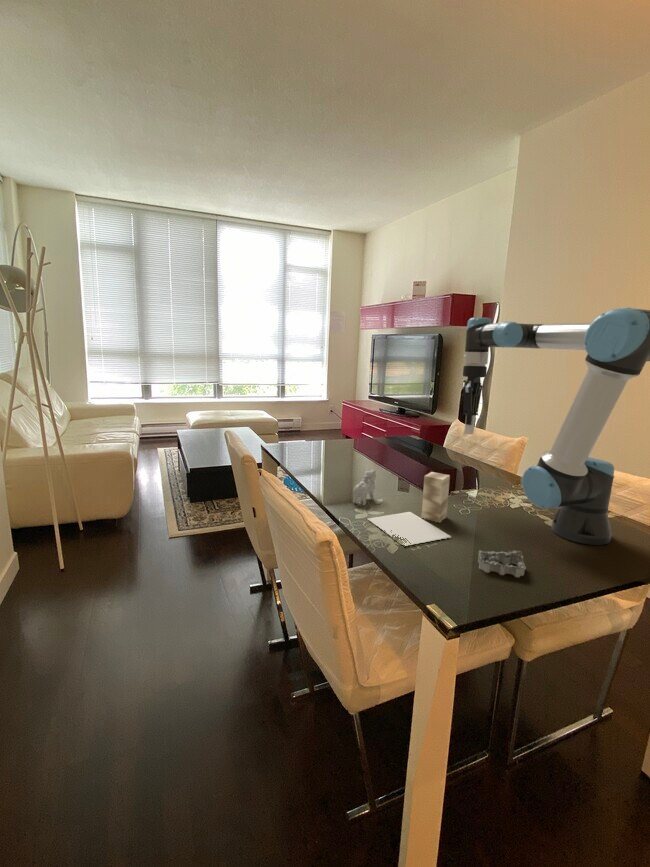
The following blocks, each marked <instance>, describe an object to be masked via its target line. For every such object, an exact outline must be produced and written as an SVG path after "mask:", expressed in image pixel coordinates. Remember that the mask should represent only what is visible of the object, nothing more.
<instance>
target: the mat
mask: <svg viewBox="0 0 650 867" xmlns="http://www.w3.org/2000/svg"><path fill="white" fill-rule="evenodd" d="M367 519H368V520H369V521H371V522H372V523H373V524H375V525H376V526H378V527H379V528H380V529H382V530H383V531H384V530H385V531H386V533H387V534H389V535H390V536H391V537H392V535H393V534H394V535H395V534H396V535H395V536H396V537H397V536H398V535H399V536H398V537H399V538H400V537H401V539H403V538H404V539H405V538H406V539H407V540H408V541H409V542H410V543H411V544H410V543H409V542H408V541H407V540H406V539H405V540H406V541H407V543H405V542H404V541H403V540H402V541H403V542H404V543H405V544H404V543H403V544H404V545H405V546H408V545H413V544H419V543H425V542H430V541H435V540H440V541H442V540H441V539H445V540H448V539H447V538H449V539H452V535H449V534H448V533H446V532H445V531H443V530H441V529H440V528H438V527H437V526H435V525H433V524H432V523H430V522H428V521H427V520H426V519H422V518H421V517H420V516H418V515H416V514H414V513H413V512H411V511H406V512H401V513H399V512H398V513H394V514H387V515H382V516H376V517H375V516H374V517H371V518H370V517H369V518H367ZM368 520H367V521H368ZM369 521H368V522H369ZM372 523H371V524H372ZM373 524H372V525H373ZM375 525H374V526H375ZM376 526H375V527H376ZM379 528H378V529H379ZM380 529H379V530H380ZM391 530H392V531H391ZM383 531H382V532H383ZM390 531H391V532H392V533H391V532H390ZM387 534H386V535H387ZM395 536H394V537H395ZM391 537H390V538H391ZM402 537H403V538H402ZM399 540H400V539H399ZM435 542H436V541H435ZM430 543H431V542H430ZM403 544H402V545H403ZM425 544H426V543H425Z"/></svg>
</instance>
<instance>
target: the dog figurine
mask: <svg viewBox="0 0 650 867" xmlns="http://www.w3.org/2000/svg"><path fill="white" fill-rule="evenodd" d="M376 478H377V473H376V470H375V469H372V470H370V468H366V469H365V472H364V473H363V478H362V480H361V481H359V482H358V484H355V486H354V488H353V495H352V499H353V501H352V503H353V502H356V503H357V498H359V499H360V500H362V504H364V505H365V504H366V505H367V495H369V498H370V500H371V499H374V500H375V498H374V497H375V496H374V492H375V489H376V484H375V480H376ZM364 505H363V506H364Z"/></svg>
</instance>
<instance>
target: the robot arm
mask: <svg viewBox="0 0 650 867" xmlns="http://www.w3.org/2000/svg"><path fill="white" fill-rule="evenodd" d="M464 348H465V349H464V354H463V355H462V356H463V363H464V366H463V367H462V368H463V370H462V376H463V377H464V378H466V377H467V379H466V383H465V385H464V386H462V387H463V388H462V390H463V413H462V415H463V416H464V415H465V421H464V422H465V423H464V432H463V433H464V434H465V435H474V433H475V432H474V431H475V421H476V416H479V413H478V412H479V406H480V402H481V396H482V390H483V385H482V382H481V378H486V377H487V369H488V368H487V366H486V365H488V361H489V352H490V350H489V348H503V349H505V348H513V349H514V348H516V349H517V348H518V349H520V348H523V349H547V350H548V349H549V350H550V349H552V350H573V351H574V350H575V351H576V350H577V351H579V350H581V351H585V352H586V353H587V355H586V357H585V359H584V361H585V364H586V366H587V367H588V369H587V371H586V373H585V375H584V377H583V379H582V381H581V384H580V386H579V388H578V390H577V393H576V395H575V397H574V398H573V401H572V404H571V406H570V408H569V410H568V412H567V414H566V416H565V419H564V421H563V423H562V425H561V427H560V429H559V432H558V434H557V435H556V438H555V440H554V442H553V444H552V447H551V449H550V450H545V451H544V452H542V454H541V456H540V457H539V460H538V462H537V463H536V464H537V465H533V466H530V467H528V468H526V469H525V471H524V472H523V474H522V477H521V485H522V489H523V491H524V495H525V496H526V498H527V500H529V502H531V504H532V505H534V506H536V507H538V508H540V509H556V508H558V510H557V511H556V514H555V515H554V517H553V518H552V521H551V531H552V532H553V533H554V534H555V535H557V536H559V537H560V538H563V539H565V540H568V541H571V542H575V543H579V544H583V545H589V546H590V545H592V546H600V545H601V546H602V545H606V544H607V545H608V544H609V543H610V542H611V540H612V529H611V524H610V521H609V520H610V519H609V516H608V512H609V507H610V500H611V495H612V488H613V482H614V479H615V466H614V464H612V462H609V461H606V460H603V459H599V458H596V457H595V458H594V457H590V454H591V453H592V451H593V449H594V447H595V444H596V443H597V441H598V439H599V437H600V435H601V434H602V431H603V429H604V427H605V425H606V424H607V422H608V420H609V418H610V416H611V414H612V412H613V410H614V408H615V406H616V404H617V402H618V400H619V399H620V397H621V394H622V393H623V391H624V389H625V387H626V385H627V383H628V381H629V380H631V379H633V378H636V377H639V376H640V375H641V372H642V370H643V369H644V367H645V365H646V364H647V362H650V309H642V308H641V309H640V308H634V307H623V308H614V309H610V310H607V311H605V312H603V313H602V314H599V316H596V318H595V319H594V320H593V321H592V322H572V323H571V322H569V323H568V322H565V323H534V324H533V323H518V322H515V321H503V322H494V323H492V319H491V318H490V317H470V318H469V319H468V320H467V326H466V330H465V346H464Z"/></svg>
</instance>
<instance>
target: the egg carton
mask: <svg viewBox="0 0 650 867" xmlns="http://www.w3.org/2000/svg"><path fill="white" fill-rule="evenodd" d="M522 552H523V551H520V550H508V551H507V552H506V551H494V550H493V551H490V550H489V551H484V550H478V551H477V553H478V559H477V560H478V561H477V562H478V565H479V566H478V569H479V570H481V571H483V572H484V573H487V574H489V573H490V572H495V573H498V575H500V576H504V575H507V574H508V575H512V576H513V577H514V578H520V577H524V575H525V570H526V568H527V567H526V564H525V561H524V556H523V553H522Z"/></svg>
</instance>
